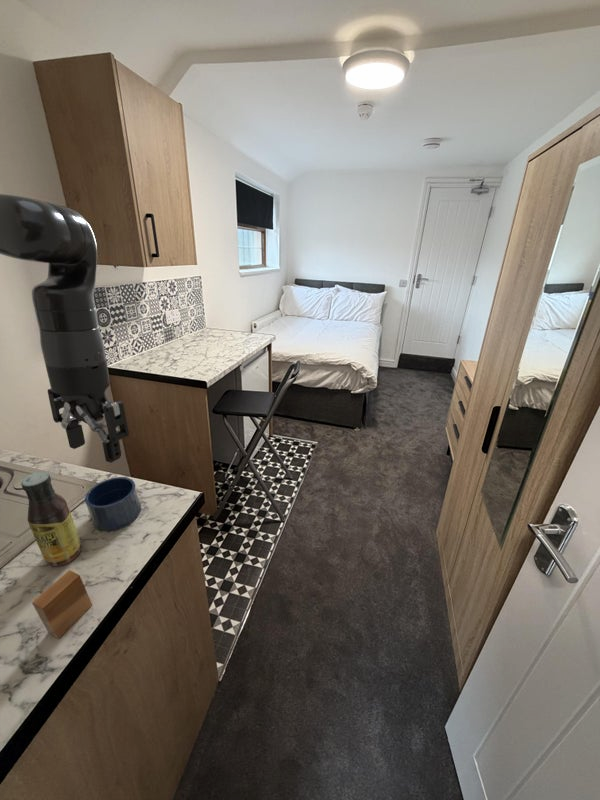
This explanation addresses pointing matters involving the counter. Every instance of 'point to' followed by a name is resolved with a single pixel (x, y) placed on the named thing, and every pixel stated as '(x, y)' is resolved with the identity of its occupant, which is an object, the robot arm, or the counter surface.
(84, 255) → the robot arm
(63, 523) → the sauce bottle
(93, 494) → the pot
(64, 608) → the wooden toy block
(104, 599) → the counter surface
